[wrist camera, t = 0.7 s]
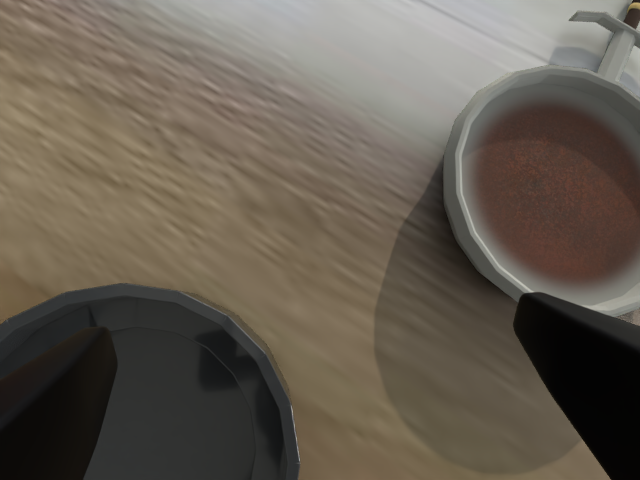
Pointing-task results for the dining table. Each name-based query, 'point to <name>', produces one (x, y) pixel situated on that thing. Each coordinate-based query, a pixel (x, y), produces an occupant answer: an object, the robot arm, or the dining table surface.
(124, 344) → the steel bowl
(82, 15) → the dining table surface
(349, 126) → the dining table surface
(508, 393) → the dining table surface
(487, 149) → the frying pan
